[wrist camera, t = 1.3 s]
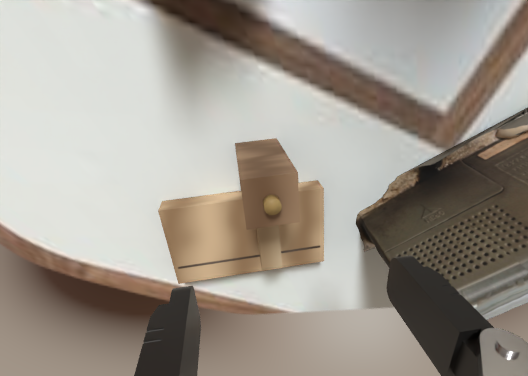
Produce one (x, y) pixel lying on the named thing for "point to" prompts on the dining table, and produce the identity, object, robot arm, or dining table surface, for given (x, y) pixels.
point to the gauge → (268, 194)
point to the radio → (463, 217)
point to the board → (236, 234)
